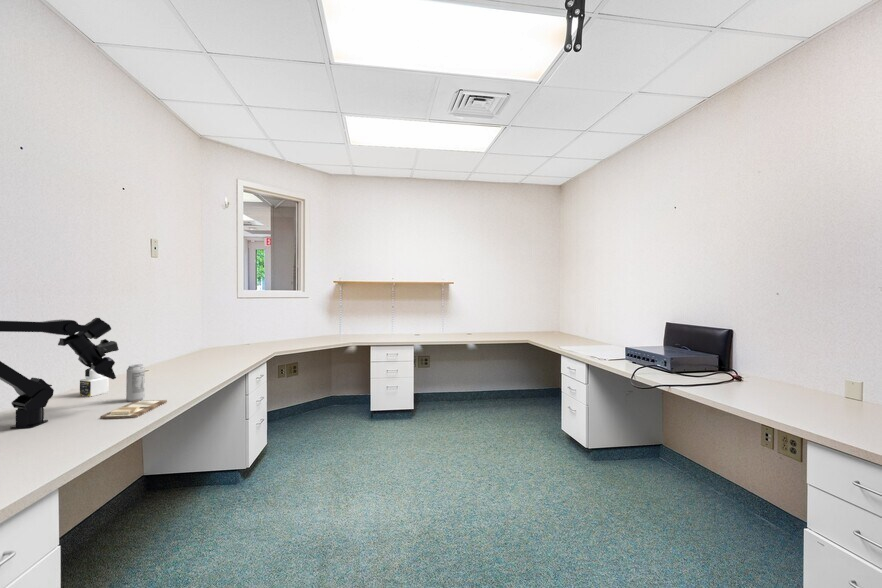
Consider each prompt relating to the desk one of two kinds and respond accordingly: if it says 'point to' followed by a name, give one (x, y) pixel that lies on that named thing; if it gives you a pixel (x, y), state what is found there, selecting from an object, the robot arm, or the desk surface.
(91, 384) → the medicine bottle
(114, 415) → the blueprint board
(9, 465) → the desk surface
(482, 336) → the desk surface
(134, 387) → the energy drink can
